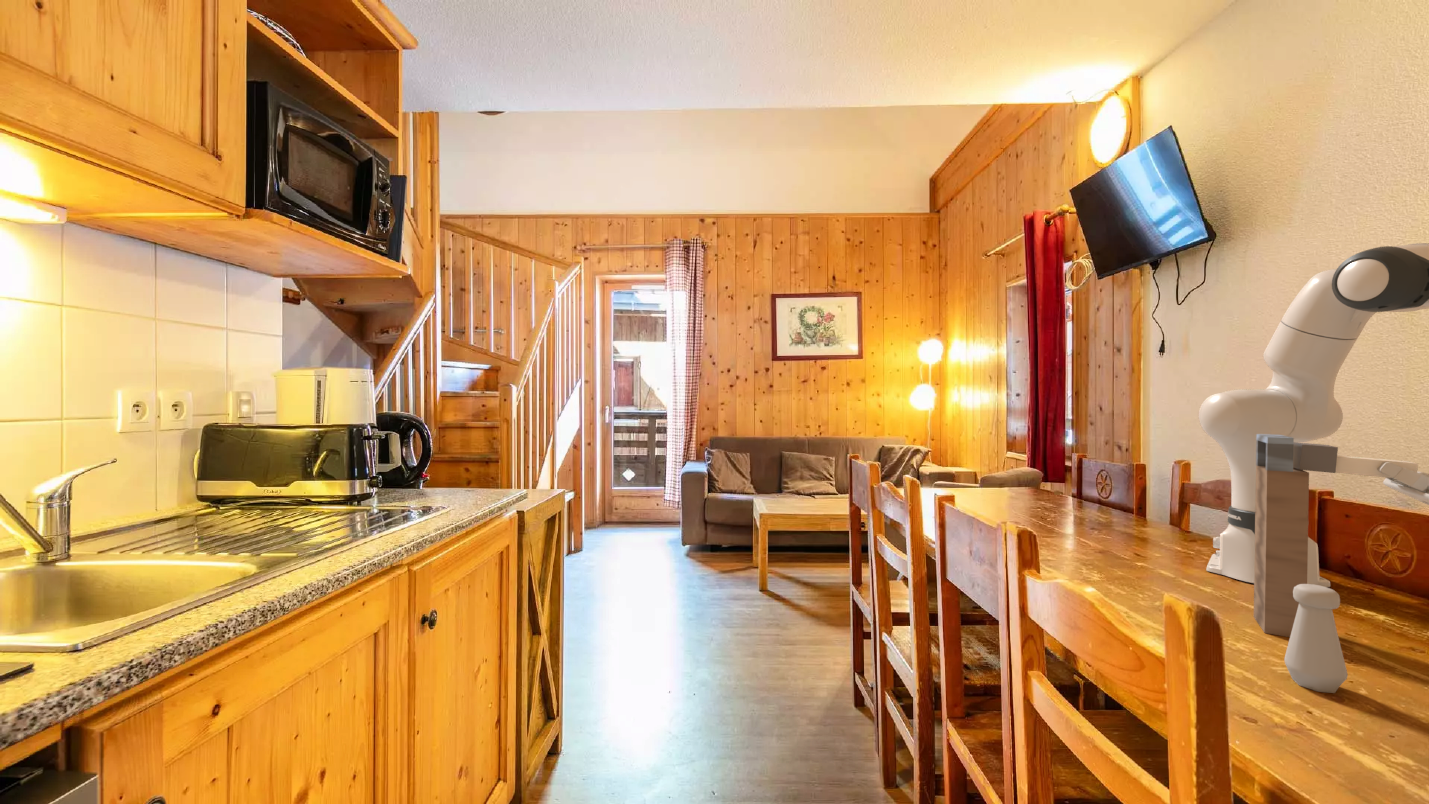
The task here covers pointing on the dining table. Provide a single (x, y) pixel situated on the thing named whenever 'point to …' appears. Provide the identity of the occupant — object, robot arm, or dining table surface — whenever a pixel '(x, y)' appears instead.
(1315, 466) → the cream bar
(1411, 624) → the dining table surface
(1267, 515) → the post
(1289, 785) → the dining table surface
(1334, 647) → the salt shaker
